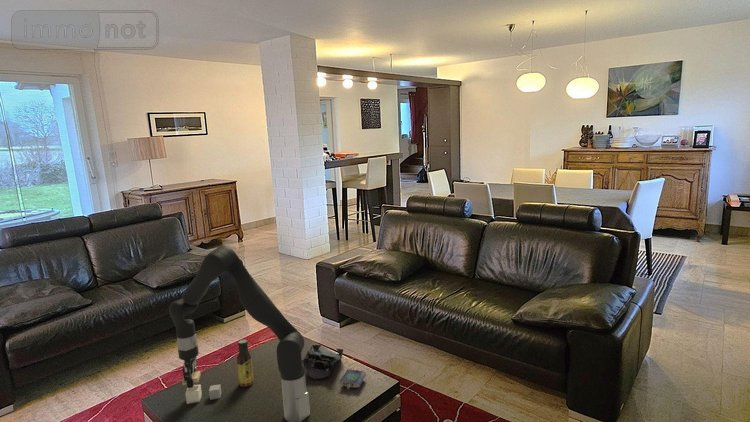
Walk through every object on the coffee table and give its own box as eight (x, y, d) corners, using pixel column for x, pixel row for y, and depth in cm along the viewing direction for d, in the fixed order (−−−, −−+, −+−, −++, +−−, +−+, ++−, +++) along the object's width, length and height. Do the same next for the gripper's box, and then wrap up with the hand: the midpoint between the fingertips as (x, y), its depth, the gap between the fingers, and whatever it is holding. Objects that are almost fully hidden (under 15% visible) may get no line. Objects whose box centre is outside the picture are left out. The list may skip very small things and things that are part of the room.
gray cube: (221, 392, 181) (220, 384, 181) (219, 398, 178) (218, 389, 177) (211, 394, 181) (210, 385, 180) (209, 399, 177) (208, 390, 176)
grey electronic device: (366, 371, 187) (358, 385, 177) (366, 377, 187) (358, 391, 177) (346, 368, 189) (337, 382, 179) (346, 374, 190) (337, 388, 180)
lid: (200, 375, 180) (200, 369, 179) (197, 382, 174) (197, 376, 173) (185, 377, 178) (185, 371, 178) (182, 384, 173) (181, 379, 172)
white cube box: (201, 395, 180) (200, 384, 180) (199, 402, 176) (198, 390, 175) (189, 397, 179) (188, 386, 179) (186, 404, 175) (185, 392, 174)
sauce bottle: (249, 388, 184) (245, 345, 181) (236, 387, 185) (231, 344, 182) (256, 380, 190) (252, 338, 187) (243, 379, 191) (239, 338, 188)
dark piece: (347, 360, 205) (346, 342, 203) (332, 382, 186) (331, 363, 184) (313, 356, 209) (311, 339, 208) (295, 378, 190) (293, 359, 189)
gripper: (182, 339, 180) (186, 375, 183) (173, 354, 166) (178, 394, 169) (200, 336, 181) (205, 373, 184) (193, 352, 168) (198, 391, 170)
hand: (192, 383), depth 176 cm, fingers closed on lid, 6 cm apart
